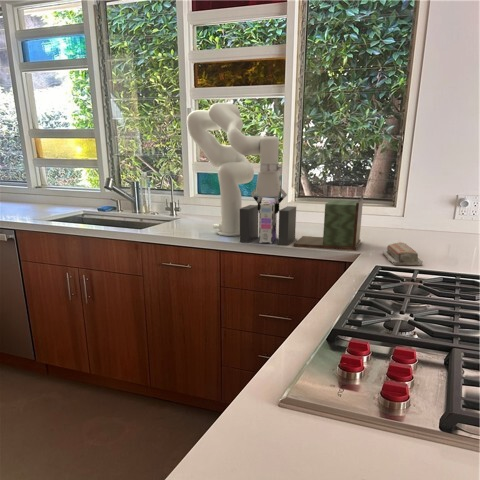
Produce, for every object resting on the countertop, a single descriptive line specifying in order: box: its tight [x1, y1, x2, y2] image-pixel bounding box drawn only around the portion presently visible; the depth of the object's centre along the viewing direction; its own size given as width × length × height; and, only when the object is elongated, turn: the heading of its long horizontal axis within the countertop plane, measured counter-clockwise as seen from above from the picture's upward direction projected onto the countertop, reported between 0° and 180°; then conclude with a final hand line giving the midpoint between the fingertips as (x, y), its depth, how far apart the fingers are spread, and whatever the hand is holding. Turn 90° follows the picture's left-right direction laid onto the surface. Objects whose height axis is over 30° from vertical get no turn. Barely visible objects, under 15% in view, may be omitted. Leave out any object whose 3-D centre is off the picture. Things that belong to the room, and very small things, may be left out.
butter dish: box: [381, 242, 423, 266], centre depth 166 cm, size 18×5×10 cm
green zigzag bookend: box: [293, 197, 364, 251], centre depth 190 cm, size 25×17×18 cm
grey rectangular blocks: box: [239, 204, 297, 246], centre depth 198 cm, size 21×14×14 cm, turn 71°
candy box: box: [258, 200, 278, 245], centre depth 198 cm, size 14×6×16 cm, turn 168°
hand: (268, 212), depth 197 cm, fingers closed on candy box, 6 cm apart
